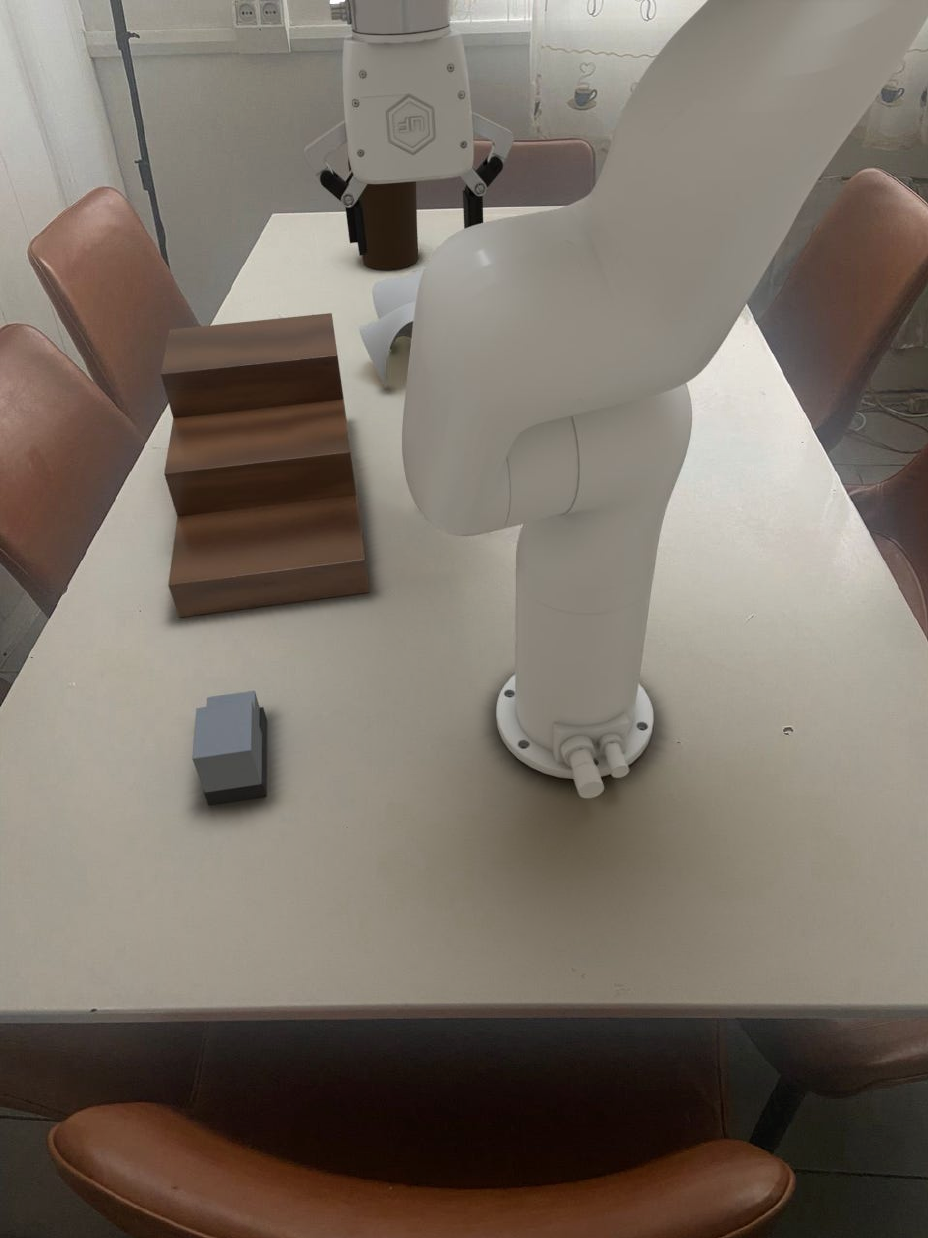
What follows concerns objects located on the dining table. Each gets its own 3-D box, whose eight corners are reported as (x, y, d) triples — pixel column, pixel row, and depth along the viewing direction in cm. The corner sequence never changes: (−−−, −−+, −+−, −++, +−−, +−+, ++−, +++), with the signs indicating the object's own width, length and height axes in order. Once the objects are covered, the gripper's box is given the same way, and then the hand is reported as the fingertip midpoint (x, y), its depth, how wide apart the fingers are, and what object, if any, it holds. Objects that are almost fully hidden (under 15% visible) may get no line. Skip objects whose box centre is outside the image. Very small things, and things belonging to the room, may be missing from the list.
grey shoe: (266, 796, 68) (252, 749, 64) (208, 805, 67) (190, 759, 64) (266, 718, 74) (253, 672, 70) (212, 726, 73) (197, 680, 70)
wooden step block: (369, 592, 85) (352, 467, 76) (178, 617, 84) (136, 493, 74) (347, 423, 110) (331, 312, 100) (199, 440, 108) (169, 329, 99)
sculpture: (377, 312, 134) (370, 246, 128) (503, 308, 134) (502, 242, 127) (359, 391, 116) (350, 318, 109) (505, 387, 115) (504, 314, 108)
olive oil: (414, 272, 145) (401, 99, 129) (351, 270, 147) (331, 99, 130) (428, 249, 153) (417, 83, 136) (368, 247, 155) (351, 83, 138)
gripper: (284, 27, 64) (319, 269, 75) (521, 11, 65) (521, 250, 76) (285, 13, 69) (318, 240, 81) (503, -2, 71) (506, 223, 82)
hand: (417, 245), depth 78 cm, fingers open, 9 cm apart
